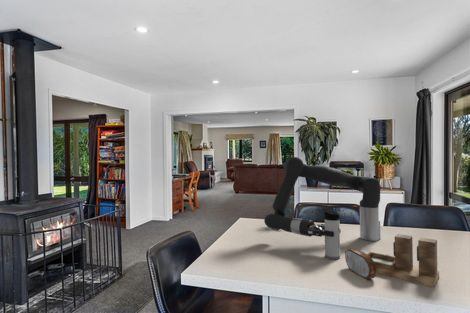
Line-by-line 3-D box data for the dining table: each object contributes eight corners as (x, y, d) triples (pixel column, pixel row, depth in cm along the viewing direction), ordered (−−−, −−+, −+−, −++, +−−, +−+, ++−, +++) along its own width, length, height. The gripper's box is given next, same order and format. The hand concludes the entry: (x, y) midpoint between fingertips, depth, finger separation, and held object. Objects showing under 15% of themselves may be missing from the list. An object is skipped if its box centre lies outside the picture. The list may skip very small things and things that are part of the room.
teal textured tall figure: (289, 232, 172) (302, 193, 173) (273, 225, 174) (286, 188, 175) (289, 229, 186) (301, 193, 187) (274, 223, 188) (286, 188, 189)
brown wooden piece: (361, 268, 110) (360, 233, 110) (370, 261, 118) (369, 227, 118) (434, 287, 94) (433, 245, 94) (439, 276, 102) (438, 238, 102)
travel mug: (321, 254, 126) (321, 210, 126) (336, 254, 127) (335, 210, 127) (327, 259, 120) (327, 213, 120) (342, 259, 120) (342, 212, 120)
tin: (377, 282, 98) (376, 258, 98) (369, 283, 97) (369, 258, 97) (350, 266, 113) (350, 245, 113) (343, 267, 112) (343, 245, 112)
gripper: (294, 221, 128) (329, 227, 117) (309, 216, 138) (343, 221, 127) (294, 238, 128) (330, 245, 116) (309, 231, 138) (343, 238, 127)
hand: (336, 232), depth 122 cm, fingers closed on travel mug, 6 cm apart
